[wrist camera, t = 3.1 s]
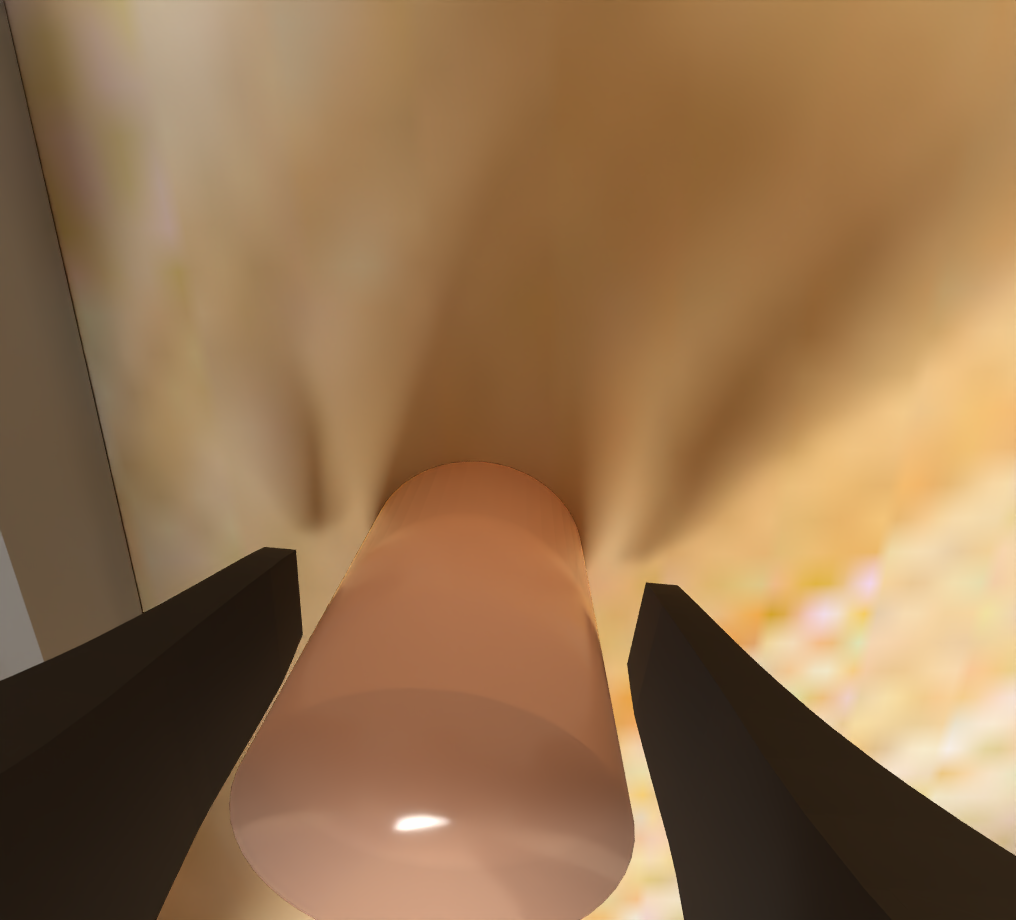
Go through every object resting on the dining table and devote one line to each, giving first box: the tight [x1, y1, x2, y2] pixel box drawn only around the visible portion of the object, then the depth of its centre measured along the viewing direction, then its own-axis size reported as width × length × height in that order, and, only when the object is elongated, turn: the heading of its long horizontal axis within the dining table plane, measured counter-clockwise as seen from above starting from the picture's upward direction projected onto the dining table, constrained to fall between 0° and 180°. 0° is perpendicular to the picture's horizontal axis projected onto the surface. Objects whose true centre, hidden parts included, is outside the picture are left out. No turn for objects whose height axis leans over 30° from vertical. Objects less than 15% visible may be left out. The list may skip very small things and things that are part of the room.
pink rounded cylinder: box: [229, 461, 635, 920], centre depth 9 cm, size 5×5×6 cm
